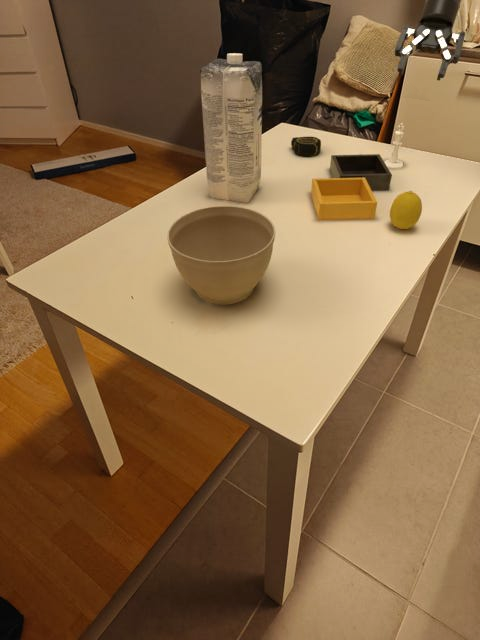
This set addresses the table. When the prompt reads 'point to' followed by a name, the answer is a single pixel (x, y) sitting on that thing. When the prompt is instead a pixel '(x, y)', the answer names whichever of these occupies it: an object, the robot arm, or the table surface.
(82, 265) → the table surface
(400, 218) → the lemon
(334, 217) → the yellow bin
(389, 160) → the chess piece
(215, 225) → the planter bowl
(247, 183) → the juice carton
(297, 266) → the table surface
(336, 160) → the dark bin
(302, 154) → the tape measure
